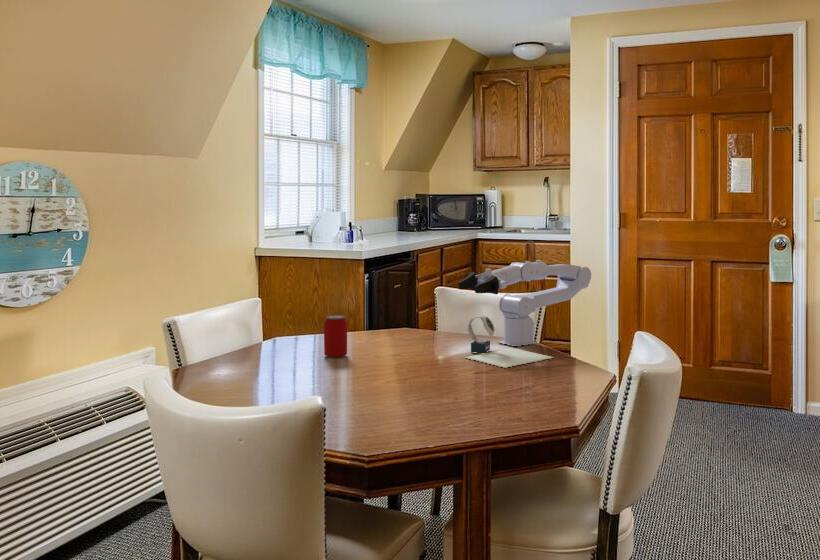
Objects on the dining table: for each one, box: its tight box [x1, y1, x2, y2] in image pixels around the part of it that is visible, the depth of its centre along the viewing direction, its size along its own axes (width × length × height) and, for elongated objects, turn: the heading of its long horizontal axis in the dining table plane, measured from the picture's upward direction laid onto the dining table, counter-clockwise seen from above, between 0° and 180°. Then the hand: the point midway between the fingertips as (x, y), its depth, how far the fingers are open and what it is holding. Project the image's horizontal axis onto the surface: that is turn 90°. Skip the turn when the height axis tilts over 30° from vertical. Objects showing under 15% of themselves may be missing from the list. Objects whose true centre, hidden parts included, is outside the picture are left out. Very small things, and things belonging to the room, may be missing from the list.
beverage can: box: [323, 314, 348, 359], centre depth 217 cm, size 7×7×12 cm
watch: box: [467, 315, 495, 353], centre depth 223 cm, size 6×8×11 cm
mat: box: [465, 348, 554, 369], centre depth 214 cm, size 20×16×1 cm
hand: (467, 287), depth 222 cm, fingers open, 7 cm apart
